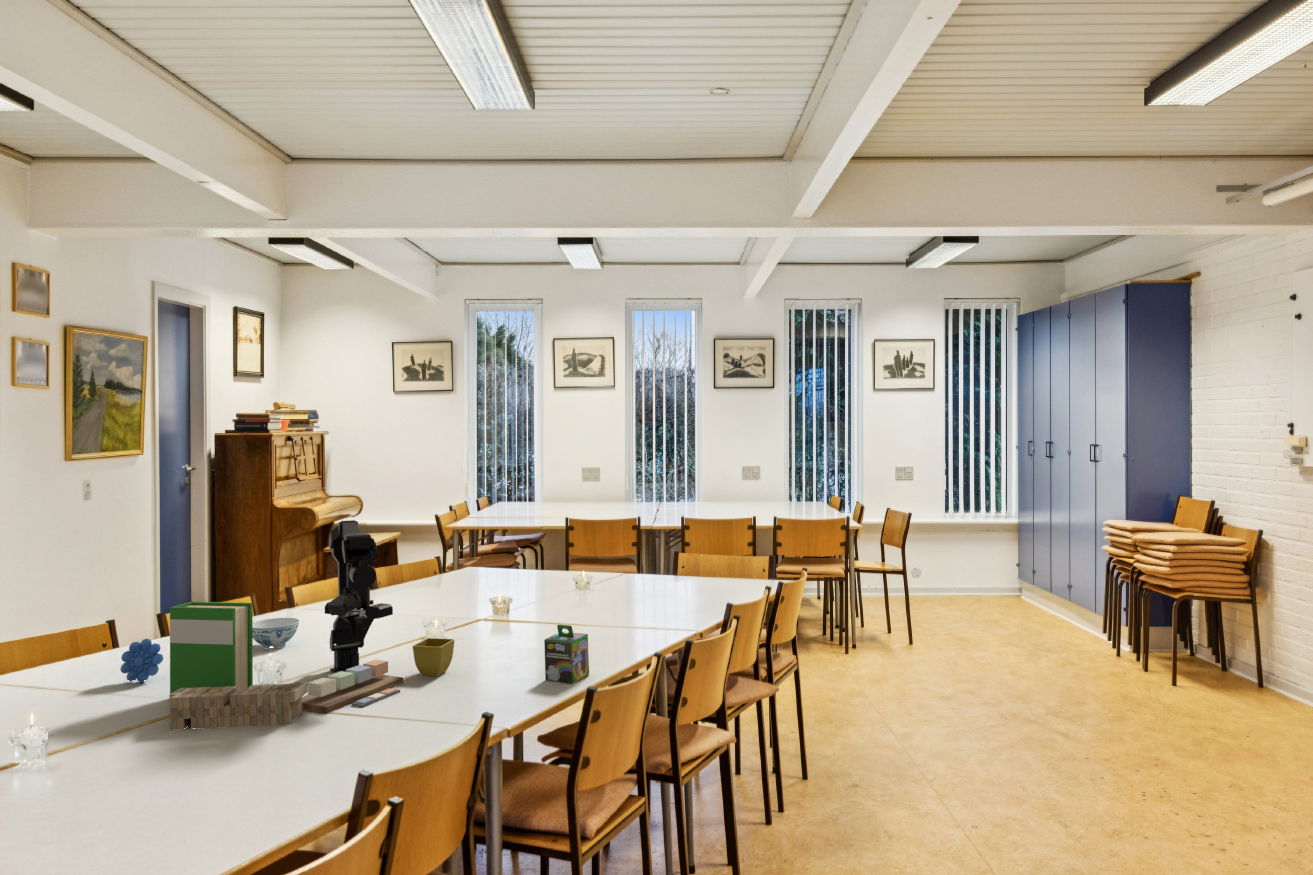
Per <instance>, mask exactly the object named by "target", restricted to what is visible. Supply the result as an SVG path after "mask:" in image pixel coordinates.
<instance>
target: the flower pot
mask: <svg viewBox="0 0 1313 875" xmlns="http://www.w3.org/2000/svg"><path fill="white" fill-rule="evenodd" d="M454 648H455V639H454V638H440V637H439V638H437V637H436V638H435V637H427V638H424V639H423V640H420V641H419V642H417V643H415V644H413V645H412V652H413V659H414V664H415V668H417V670H418V672H419V673H420V675H421V676H428V677H440V676H441V675H443V674H444V673H446V672H447V670H448V669H449V667H450V664H451V662H452V660H453V655H454Z"/></svg>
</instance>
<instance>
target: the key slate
mask: <svg viewBox="0 0 1313 875" xmlns="http://www.w3.org/2000/svg"><path fill="white" fill-rule="evenodd" d="M346 672H350V673H354V682H355V683H360V682H363V681H366V680H369V679H371V678H372V667H368V666H363V665H362V666H361V664H359V665H358V666H355V667H352V668H349V669H346Z"/></svg>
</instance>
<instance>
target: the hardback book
mask: <svg viewBox="0 0 1313 875" xmlns="http://www.w3.org/2000/svg"><path fill="white" fill-rule="evenodd" d="M252 622H253V602H229V601H228V602H227V601H226V602H219V601H218V602H217V601H189V602H185V603H182V604H176V605H174V606H173V605H172V606H170V607H169V695H170V694H171V693H173V692H175V691H176V690H178V689H180V688H196V687H199V688H200V687H212V688H213V687H227V686H238V690H239V689H244V688H245V689H247V688H248V687H250V686H251V685H254V684H253V683H254V682H253V680H254V679H253V678H254V676H253V674H254V673H253V666H254V665H253V664H254V663H253V661H254V660H253V658H254V656H253V655H254V654H253V653H254V651H253V648H254V646H253V643H254V639H253V634H252Z"/></svg>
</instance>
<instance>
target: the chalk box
mask: <svg viewBox="0 0 1313 875" xmlns="http://www.w3.org/2000/svg"><path fill="white" fill-rule="evenodd" d="M556 628H557V634H553V635H550V637H547V638H545V639H544V641H543V642H544V643H543V644H544V669H545V670H544V671H545V672H544V675H545V681H550V682H551V681H552V682H558V683H563V684H565V683H566V684H570V685H571V684H572V685H573V684H575V683H577V682H579V680H582V679H583V678H586V677H587V676H589V675H590V660H589V659H590V658H589V657H590V655H589V634H588V633H579V632H574V631H573V626H571V625H569V624H568V625H566V624H557V626H556ZM563 629H564V630H565V629H566V630H567V631H568V632H564V631H563Z"/></svg>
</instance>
